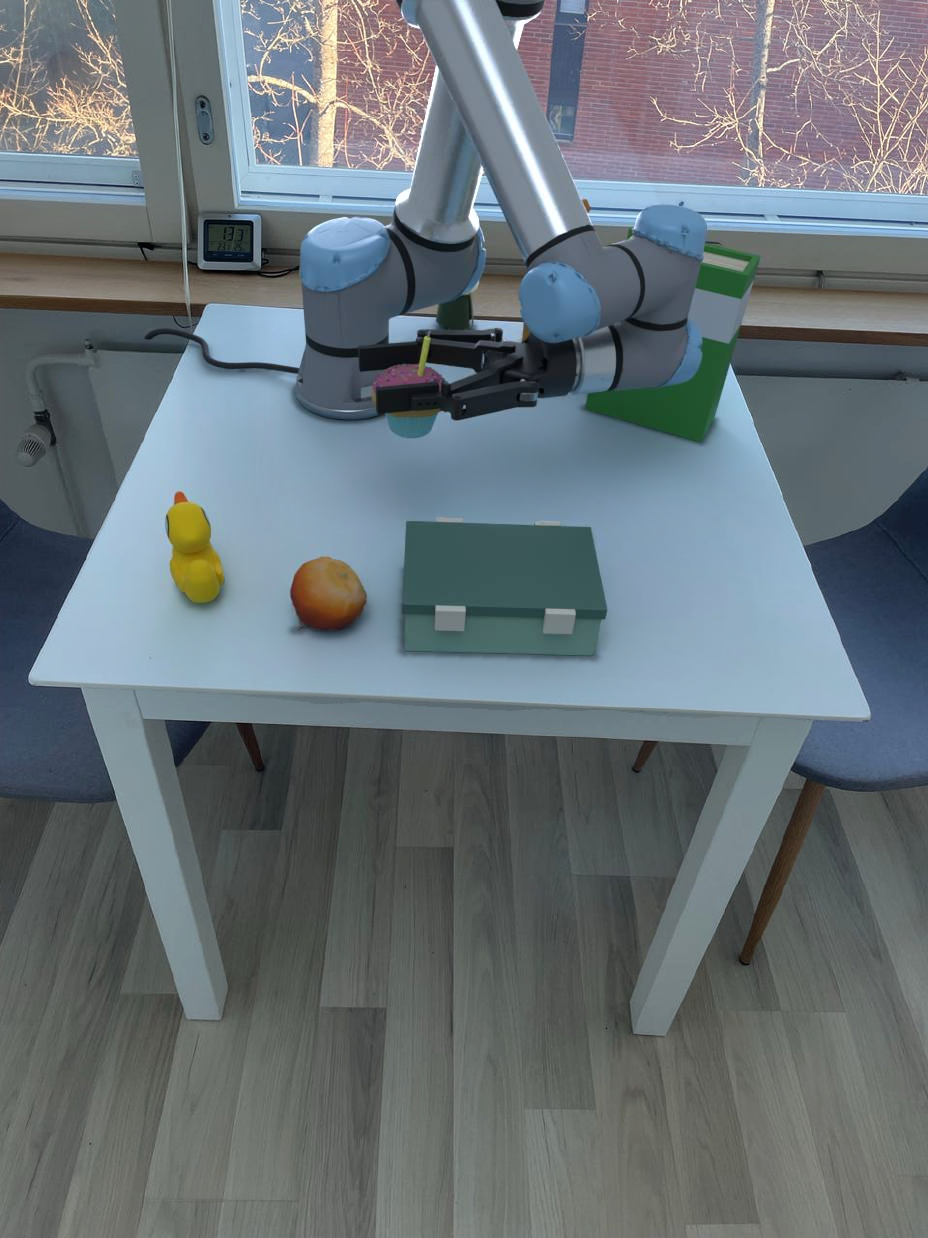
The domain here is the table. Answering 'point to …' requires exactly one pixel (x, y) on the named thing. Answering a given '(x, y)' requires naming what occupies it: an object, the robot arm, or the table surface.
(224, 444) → the table surface
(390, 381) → the cupcake
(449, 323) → the character mug
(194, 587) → the duckling
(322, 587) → the fruit
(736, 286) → the hardback book
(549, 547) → the lunchbox
